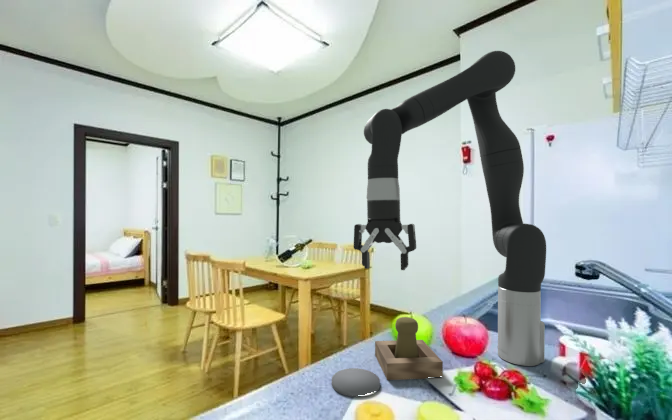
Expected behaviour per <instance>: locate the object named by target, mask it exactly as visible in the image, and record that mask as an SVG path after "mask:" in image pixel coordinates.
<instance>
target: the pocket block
mask: <svg viewBox="0 0 672 420" xmlns="http://www.w3.org/2000/svg"><path fill="white" fill-rule="evenodd" d="M416 341H417V349H418V358H395V357H394V356H395V349H396V342H397V340H375V341H374V356H375V358H376V360H377V362H378V364H379V366H380V369H381V370H382V373H383V374H384V377H385V379H386V380H387V381H399V380H400V381H401V380H423V379H424V380H425V379H426V378H428V377H440V376H444V374H443V373H444V372H443V371H444V369H443V367H444V362H443V360H442V359H441V358H440V357H439V356H438V355H437V354H436V353H435V352H434V350H433V349H432V348H431V347H430V346H429V345H428V344H427V343H426V342H425V341H424V340H423V339H416Z"/></svg>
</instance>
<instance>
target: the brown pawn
mask: <svg viewBox="0 0 672 420" xmlns="http://www.w3.org/2000/svg"><path fill="white" fill-rule="evenodd" d="M394 327H395V330H396V333H397V336H396V341H397V342H396V349H395V356H394V357H395V358H418V349H417V341H416V340H417V335H416V334H417V333H418V331H419V322H417V320H416V319H415V318H413V317H408V316H402V317H398V318H397V319H396V321H395V326H394Z"/></svg>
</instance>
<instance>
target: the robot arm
mask: <svg viewBox="0 0 672 420" xmlns="http://www.w3.org/2000/svg"><path fill="white" fill-rule="evenodd" d="M515 74H516V62H515V61H514V58H513V57H512V56H511V55H510V54H509V53H508V52H505V51H503V50H494V51H493V50H492V51H490V52H487V53H486V54H484V55H482V56H481V57H480V58H479V59H477V60H476V61H474V62H473V64H471V65H470V66H469V67H468V68H466V69H464V70H463V71H461V72H458V74H456V75H454V76H451V77H450V78H448V79H446V80H443V81H442V82H440V83H438V84H436V85H433V86H432V87H429V88H427V89H425V90H422V91H420V92H418V93H417V94H414V95H412V96H411V97H409V98H407V99H405V100H403V101H401V102H400V103H399V104H398V105H396V106H395V107H393V108H391V109H390V108H382V109H380V110H377V111H376V112H375V113H374V114H373V115H372V116H371V117H370V118H369V119H368V120H367V122H366V123H365V125H364V126H363V127H364V128H363V135H364V139H365V140H366V141H367V142H368V143H369V144H370V145H371V151H370V152H371V153H370V155H369V156H368V159H367V160H368V161H367V185H366V186H367V187H366V211H367V213H366V215H367V222H366V224H361V223H357V224H354V227H353V249H354V250H355V251H356V250H357V251H359V252H361V266H362V267H364V269H367V270H368V269H369V268H370V266H371V264H370V263H371V262H370V261H371V259H370V257H371V256H370V251H369V250H370V248H372V246H373V245H374V244H375V243H376V244H381V243H386V244H390V243H393V244H394V245H395V246H396V247H397V249H398V250H399V251H400V252H401V253H400V271H406V269H407V268H408V267H409V253H411V252H414V251H415V250H416V249H417V240H416V230H415V229H416V226H415V224H414V223H409V224H402V222H401V195H400V184H399V183H400V182H399V163H398V161H399V154H400V149H401V144H402V135H404V134H405V133H407V132H409V131H410V130H413V129H416V128H418V127H421V126H423V125H424V124H427V123H429V122H430V121H433V120H435V119H436V118H438V117H440V116H441V115H444V113H446V112H448V111H450V110H451V109H453V108H454V107H456V106H457V105H459V104H461V103H463V102H464V101H467V103H468V107H469V110H470V114H471V116H472V121H473V124H474V125H473V127H474V130H475V136H476V140H477V145H478V150H479V158H480V162H481V168H482V173H483V177H484V181H485V186H486V193H487V197H488V203H489V207H490V219H491V231H492V242H493V246H494V248H495V250H496V251H497V252H498V254H499V255H501V256H503V257H504V258H506V259H505V261H506V262H505V270H504V271H503V272H502V273H500V274H499V275H498V277H497V356H498V357H499V358H501V359H502V360H504V361H506V362H509V363H511V364H515V365H517V366H518V365H519V366H525V367H534V366H538V365H540V364H541V363H545V354H546V353H545V349H546V348H545V341H546V340H545V339H546V338H545V336H546V334H545V332H546V331H545V330H546V329H545V325H546V324H545V322H544V321H542V319H541V318H542V316H541V315H542V311H541V308H542V307H541V306H542V305H541V299H542V298H541V297H542V296H541V295H542V293H541V290H542V283H543V282H544V279H545V277H546V276H545V275H546V265H547V263H546V262H547V259H546V258H547V241H546V237H545V235H544V232H543V231H542V230H541V228H540V227H538V226H536V225H534V224H530V223H524V221H523V218H522V214H521V208H520V193H521V188H522V184H523V179H524V172H525V166H524V160H523V154H522V149H521V144H520V141H519V139H518V137H517V135H516V134H515V133H514V131H513V130H512V129H511V128H510V127H509V126H508V124H507V123H506V122H505V120H504V119H503V118H502V116H501V114H500V112H499V107H498V103H497V97H496V96H497V95H496V94H497V92H499V91H501V90H502V89H504V88H505V87H507V86H508V85H509V84H510V83H511V81H512V80H513V78H514V77H515ZM365 230H366V232H367V233H368V235H369V236H368V238H367V239H366V241H365V242H364V243H363V244H362V241H363V238H362V237H363V234H364V233H365ZM402 231H404V233H405V234H406V235H407V237H408V239H407V240H408V246H407V245H406V243H404V241H403V239H402V238H401V236H400V234H401V232H402Z"/></svg>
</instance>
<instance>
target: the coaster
mask: <svg viewBox="0 0 672 420" xmlns="http://www.w3.org/2000/svg"><path fill="white" fill-rule="evenodd" d="M331 387H332V389H333V390H334V391H335V392H337V393H339V394H340V395H343V396H345V397H351V398H357V397H356V396H358V395H365V394H367V393H371V392H374V391H377V392H378V391H379V390H380V387H381V379H380V377H379V376H378V375H377V374H376V373H375V372H372V371H371V370H367V369H364V368H358V367H357V368H354V367H352V368H344V369H341V370H339V371H337V372H335V373H334V374H333V375H332V377H331Z"/></svg>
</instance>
